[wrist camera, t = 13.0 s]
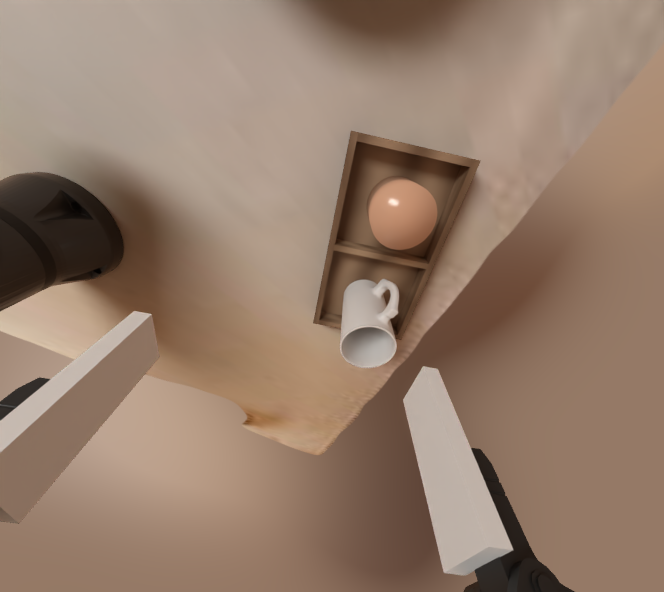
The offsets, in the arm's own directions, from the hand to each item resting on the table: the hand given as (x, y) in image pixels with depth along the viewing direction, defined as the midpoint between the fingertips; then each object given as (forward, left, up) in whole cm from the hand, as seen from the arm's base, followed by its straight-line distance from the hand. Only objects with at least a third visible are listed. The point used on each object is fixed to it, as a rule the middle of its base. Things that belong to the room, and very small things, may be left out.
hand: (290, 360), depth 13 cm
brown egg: (+8, +4, -26) cm, 27 cm away
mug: (+8, -9, -26) cm, 29 cm away
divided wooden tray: (+8, -2, -27) cm, 28 cm away
